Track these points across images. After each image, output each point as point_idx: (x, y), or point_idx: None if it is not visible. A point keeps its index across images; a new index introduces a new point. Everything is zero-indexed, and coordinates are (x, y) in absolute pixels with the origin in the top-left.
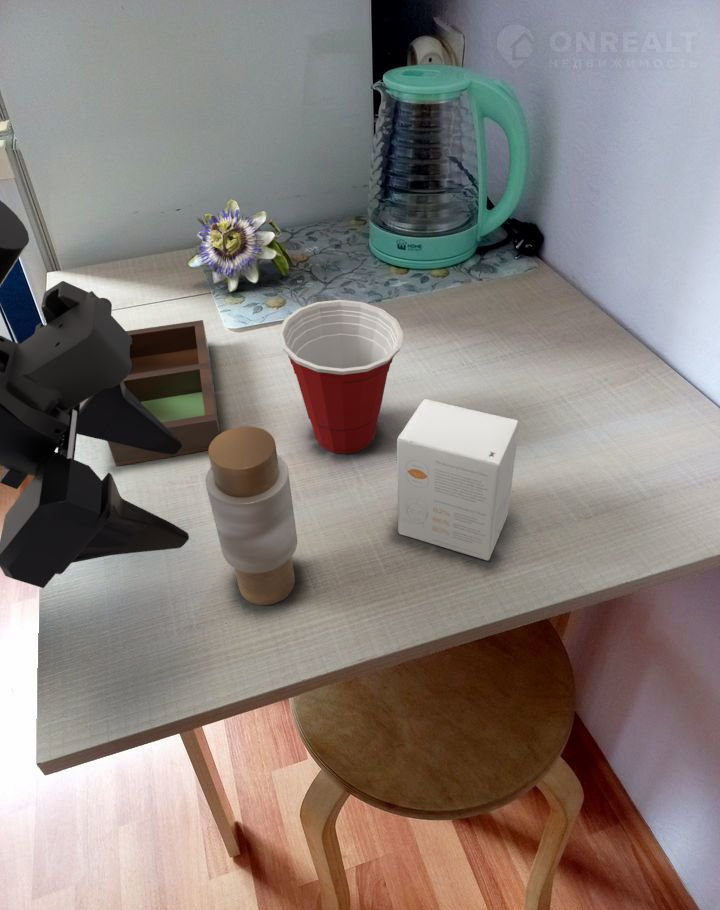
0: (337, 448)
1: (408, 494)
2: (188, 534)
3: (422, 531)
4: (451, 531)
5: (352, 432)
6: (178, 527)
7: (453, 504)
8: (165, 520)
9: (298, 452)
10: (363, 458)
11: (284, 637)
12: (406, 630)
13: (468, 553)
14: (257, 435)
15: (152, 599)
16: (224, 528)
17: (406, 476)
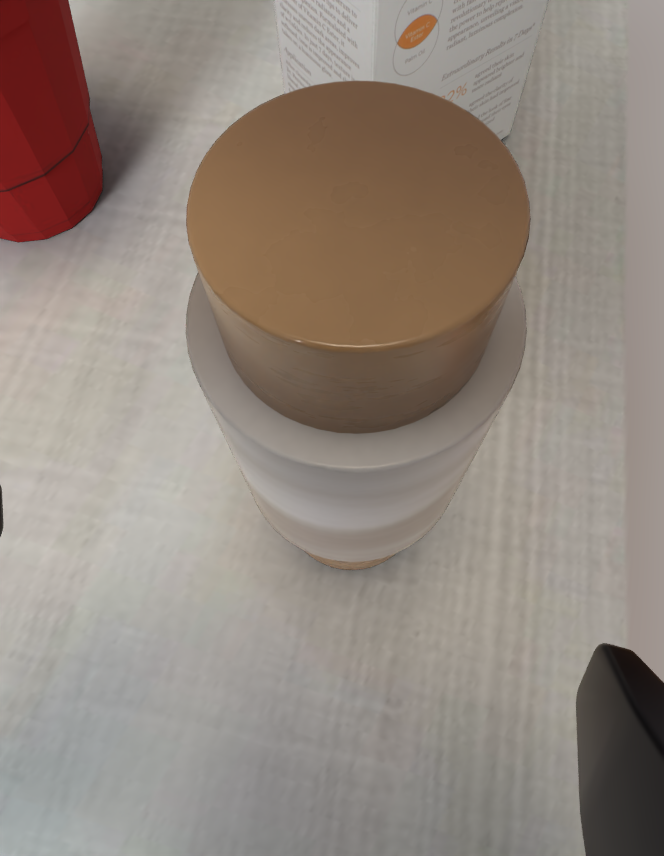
0: (74, 211)
1: None
2: (604, 643)
3: None
4: None
5: (82, 145)
6: (626, 678)
7: (477, 54)
8: (662, 741)
9: (12, 289)
10: (128, 189)
11: (514, 528)
12: (595, 315)
13: None
14: (314, 123)
15: (249, 791)
16: (417, 506)
17: (393, 61)
